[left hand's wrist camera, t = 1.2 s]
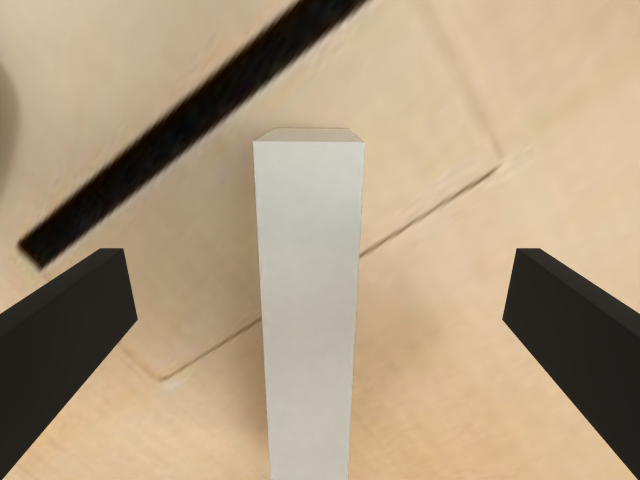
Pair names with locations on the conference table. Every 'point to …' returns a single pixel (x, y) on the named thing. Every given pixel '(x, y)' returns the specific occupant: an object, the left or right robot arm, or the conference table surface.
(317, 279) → the bar
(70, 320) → the left robot arm
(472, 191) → the conference table surface
